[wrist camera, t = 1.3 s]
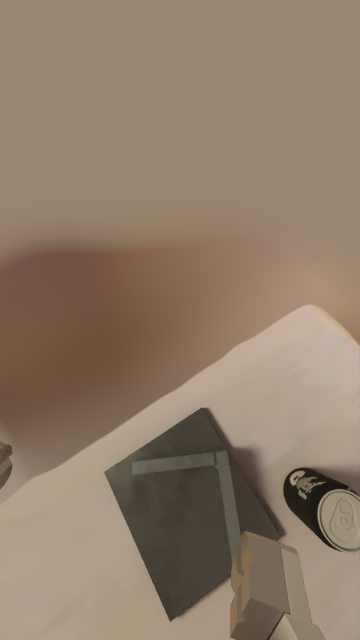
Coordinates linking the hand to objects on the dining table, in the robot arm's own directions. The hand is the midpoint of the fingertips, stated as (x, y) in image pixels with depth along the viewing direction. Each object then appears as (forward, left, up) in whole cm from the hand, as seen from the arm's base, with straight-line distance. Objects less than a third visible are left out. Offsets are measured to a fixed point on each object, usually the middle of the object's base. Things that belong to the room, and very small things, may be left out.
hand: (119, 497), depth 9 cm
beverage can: (-16, -11, -37) cm, 42 cm away
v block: (-8, +4, -37) cm, 38 cm away
